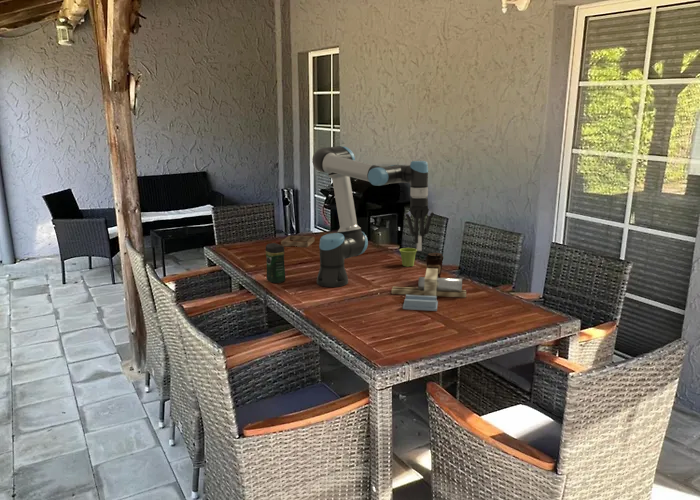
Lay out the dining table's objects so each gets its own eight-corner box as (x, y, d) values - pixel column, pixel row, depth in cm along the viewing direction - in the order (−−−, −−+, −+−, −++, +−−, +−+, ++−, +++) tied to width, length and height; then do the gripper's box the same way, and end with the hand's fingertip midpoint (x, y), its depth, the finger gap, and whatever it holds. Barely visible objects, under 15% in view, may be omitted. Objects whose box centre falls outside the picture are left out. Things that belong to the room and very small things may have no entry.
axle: (418, 291, 249) (418, 278, 248) (419, 288, 255) (419, 275, 254) (461, 293, 246) (462, 280, 244) (461, 290, 251) (462, 277, 250)
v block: (402, 309, 232) (402, 301, 232) (404, 301, 242) (405, 293, 241) (436, 310, 230) (437, 302, 229) (437, 303, 239) (437, 295, 239)
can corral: (281, 246, 347) (280, 241, 346) (289, 240, 363) (288, 235, 362) (307, 247, 344) (307, 242, 343) (314, 241, 360) (314, 236, 359)
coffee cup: (442, 282, 268) (443, 256, 265) (424, 281, 270) (425, 255, 267) (443, 277, 277) (444, 252, 274) (426, 277, 278) (426, 251, 275)
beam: (389, 298, 246) (389, 277, 244) (394, 286, 263) (394, 266, 261) (466, 302, 240) (467, 281, 238) (465, 289, 257) (466, 269, 255)
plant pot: (396, 266, 297) (397, 251, 295) (402, 262, 306) (402, 247, 304) (414, 268, 294) (414, 252, 292) (418, 264, 303) (419, 248, 300)
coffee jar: (288, 281, 272) (286, 244, 268) (273, 284, 268) (271, 246, 264) (278, 277, 280) (277, 240, 276) (264, 279, 276) (262, 243, 271)
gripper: (406, 198, 238) (407, 252, 243) (436, 197, 240) (435, 251, 245) (402, 196, 245) (402, 249, 250) (431, 195, 247) (430, 247, 252)
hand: (419, 250), depth 247 cm, fingers closed
